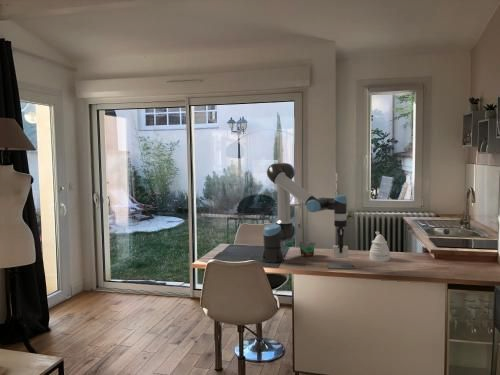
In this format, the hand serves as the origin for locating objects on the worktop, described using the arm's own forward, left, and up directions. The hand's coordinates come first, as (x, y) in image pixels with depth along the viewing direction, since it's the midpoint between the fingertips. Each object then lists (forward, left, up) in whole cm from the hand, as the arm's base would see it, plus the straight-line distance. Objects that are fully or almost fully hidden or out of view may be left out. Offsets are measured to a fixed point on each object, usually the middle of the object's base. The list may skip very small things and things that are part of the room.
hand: (340, 256), depth 264 cm
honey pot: (+27, +22, -6) cm, 35 cm away
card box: (0, 0, 0) cm, 0 cm away
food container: (-20, +25, -6) cm, 33 cm away
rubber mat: (0, 0, -6) cm, 6 cm away
